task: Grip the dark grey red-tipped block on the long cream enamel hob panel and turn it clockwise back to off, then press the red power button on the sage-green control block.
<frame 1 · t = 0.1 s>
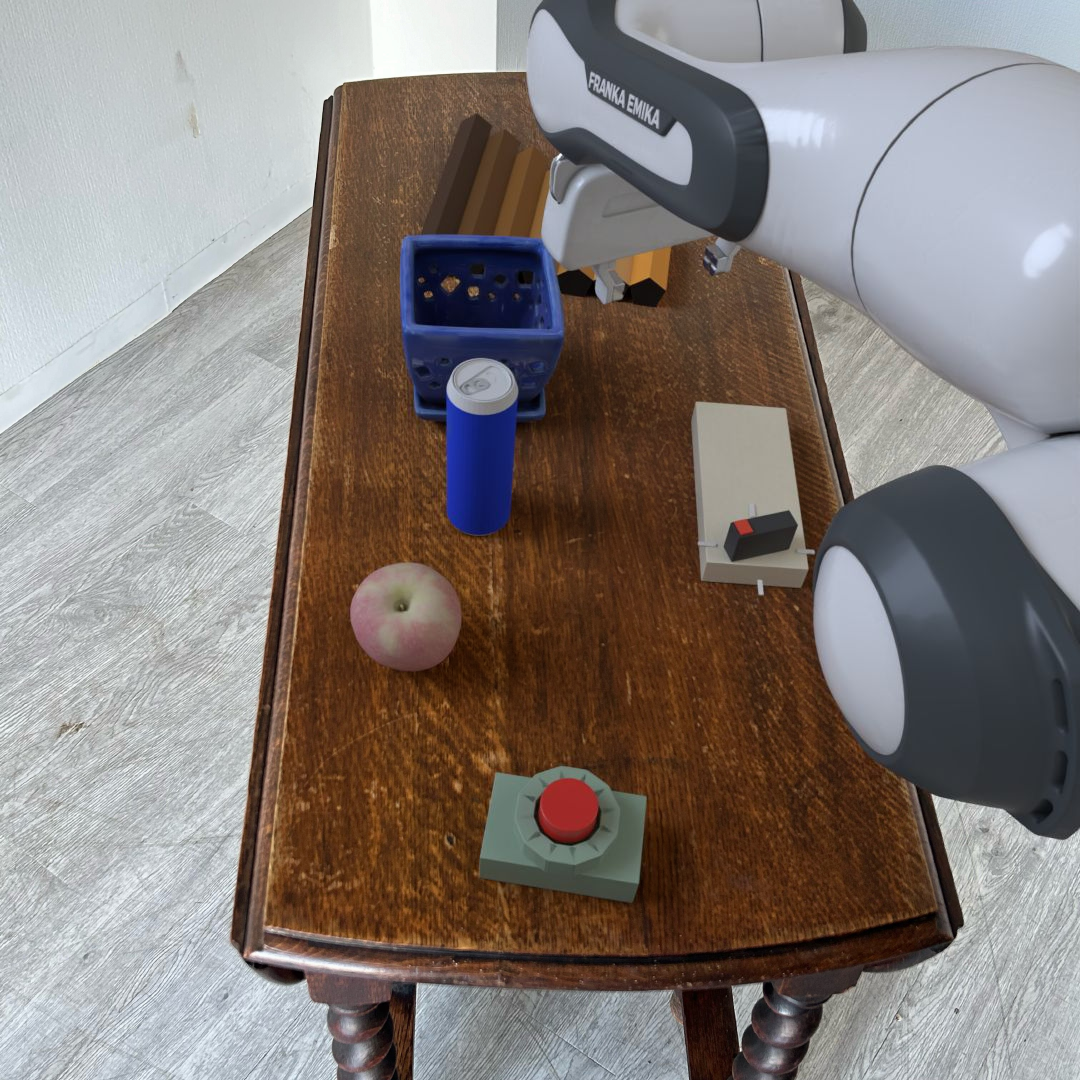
hand: (662, 283, 85), 17 cm above the table, tool pointing down, fingers open, 8 cm apart
beverage can: (478, 517, 91), on the table
control block: (561, 847, 73), on the table
power button: (568, 810, 69), point 5 cm above the table, slide at 0.1 cm
apple: (408, 651, 82), on the table
hob: (742, 499, 94), on the table
flower pot: (477, 389, 101), on the table
dark grey red-tipped block: (760, 535, 86), point 4 cm above the table, hinge at 110.0°
pan flute: (554, 218, 118), on the table
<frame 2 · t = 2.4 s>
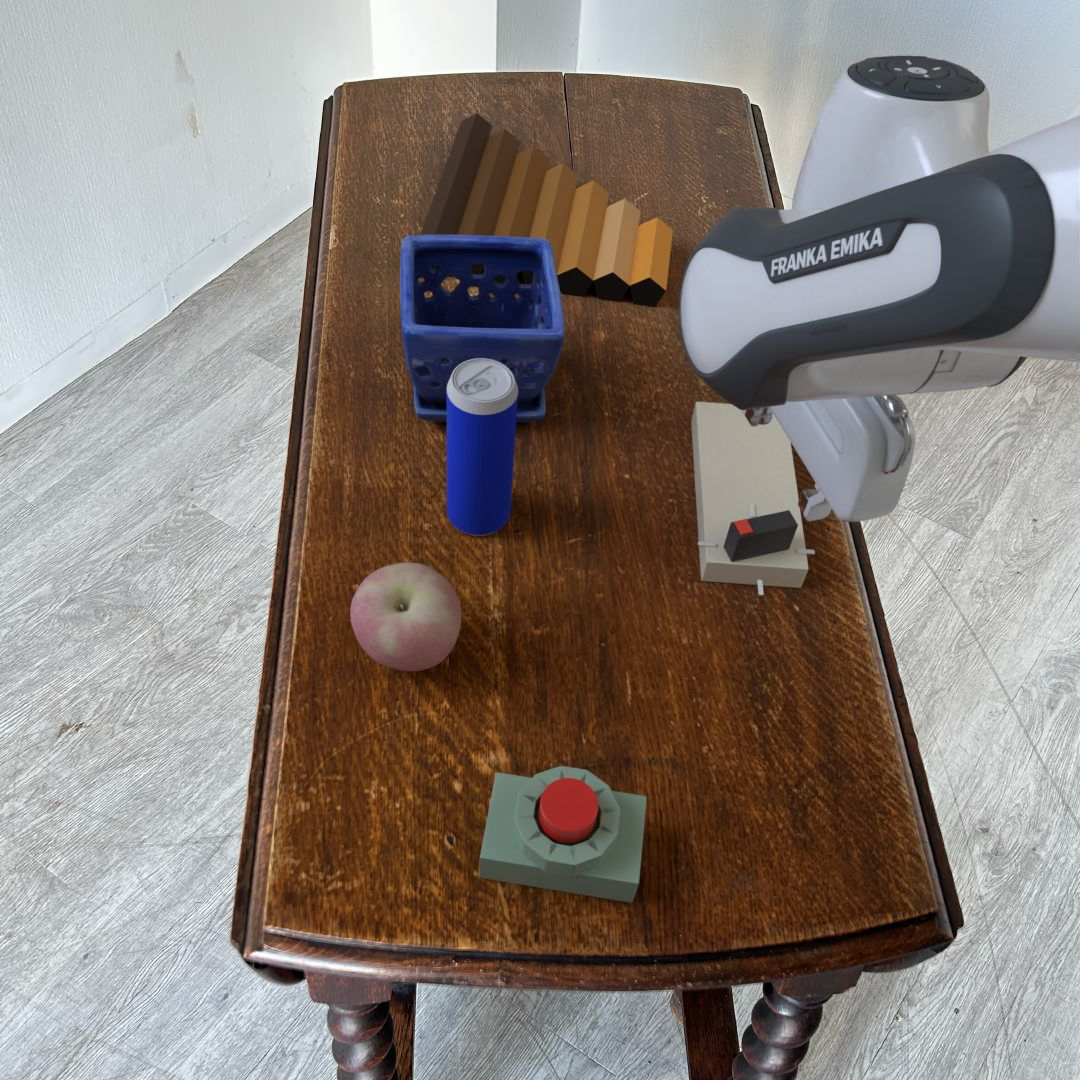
hand: (782, 464, 80), 12 cm above the table, tool pointing down, fingers open, 8 cm apart
nothing on the table moved.
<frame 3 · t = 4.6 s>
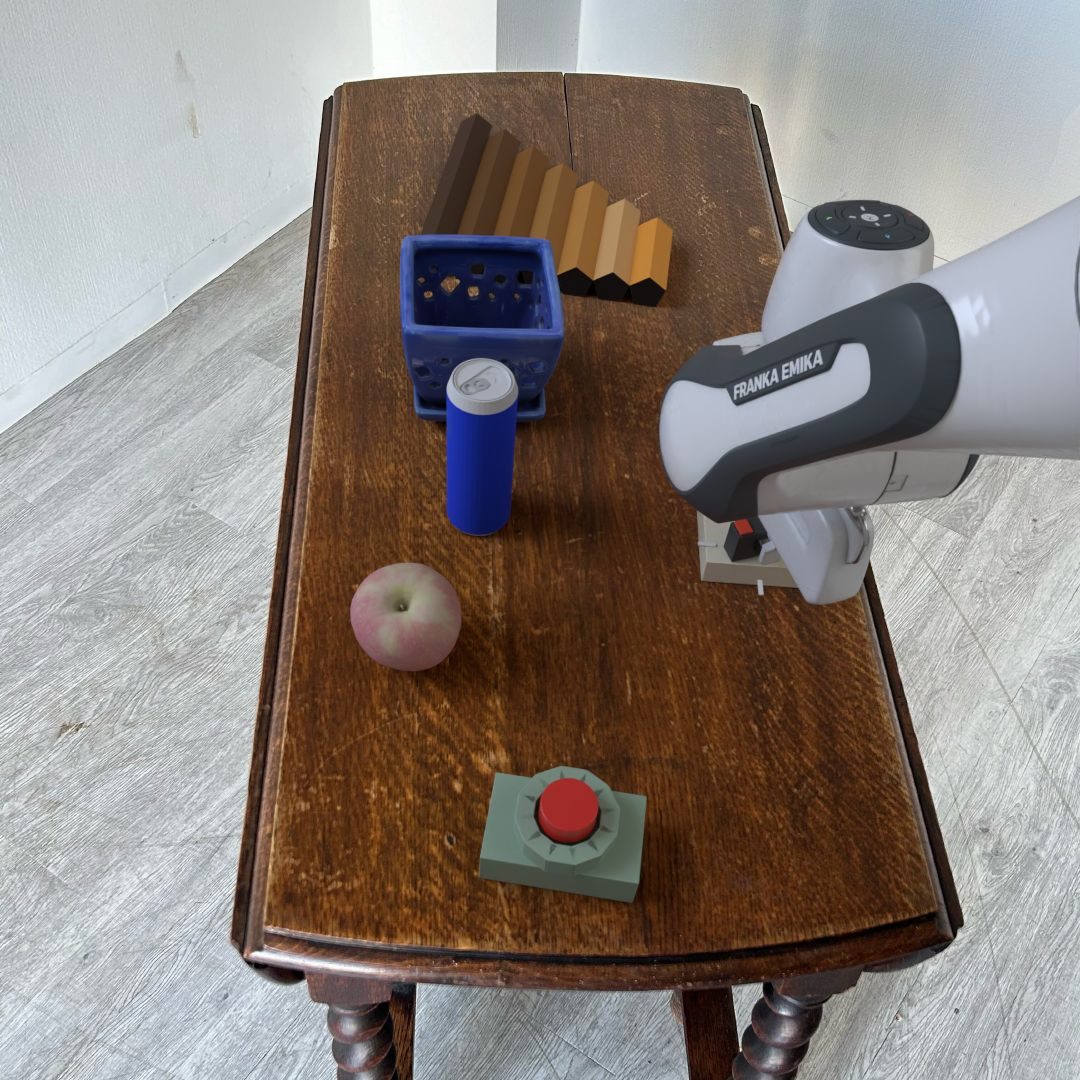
hand: (758, 542, 87), 3 cm above the table, tool pointing down, fingers closed on dark grey red-tipped block, 2 cm apart
dark grey red-tipped block: (760, 535, 86), point 4 cm above the table, hinge at 110.0°, touching gripper
everything else where it was.
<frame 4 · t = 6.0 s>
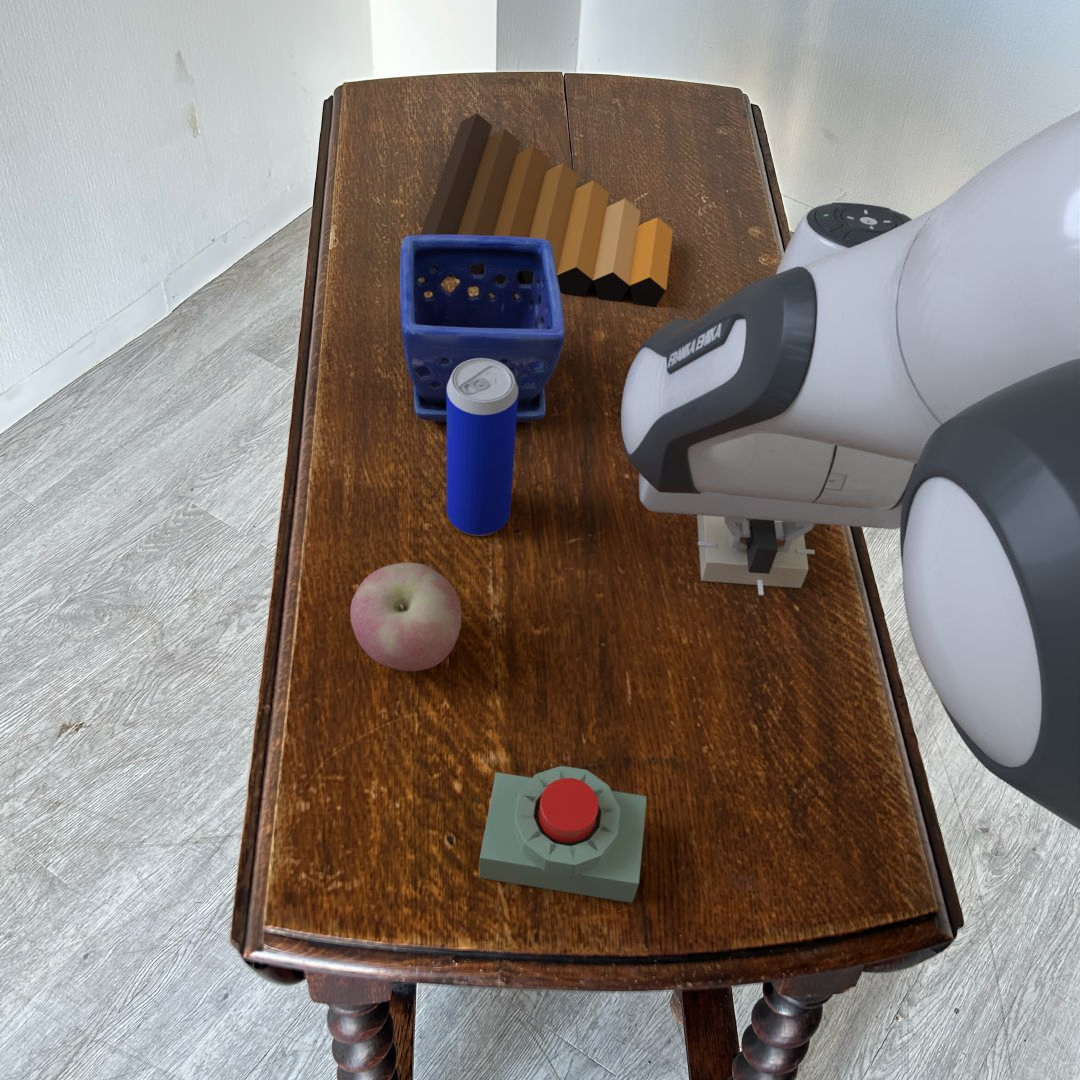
hand: (757, 544, 87), 3 cm above the table, tool pointing down, fingers closed, pressing on dark grey red-tipped block
dark grey red-tipped block: (760, 535, 86), point 4 cm above the table, hinge at 0.1°, touching gripper
everything else where it was.
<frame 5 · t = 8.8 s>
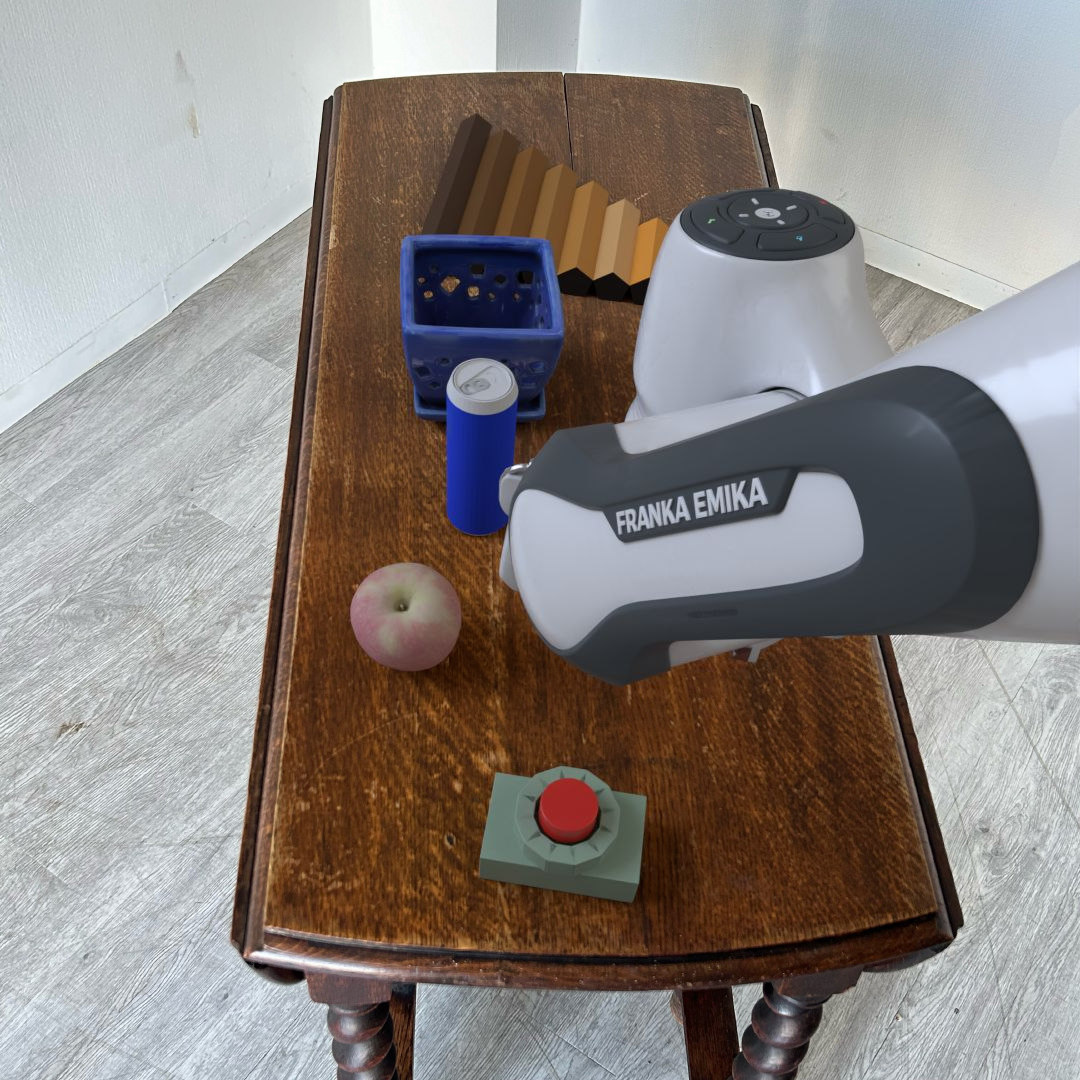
hand: (664, 640, 67), 14 cm above the table, tool pointing down, fingers open, 8 cm apart
dark grey red-tipped block: (760, 535, 86), point 4 cm above the table, hinge at 0.1°
everything else where it was.
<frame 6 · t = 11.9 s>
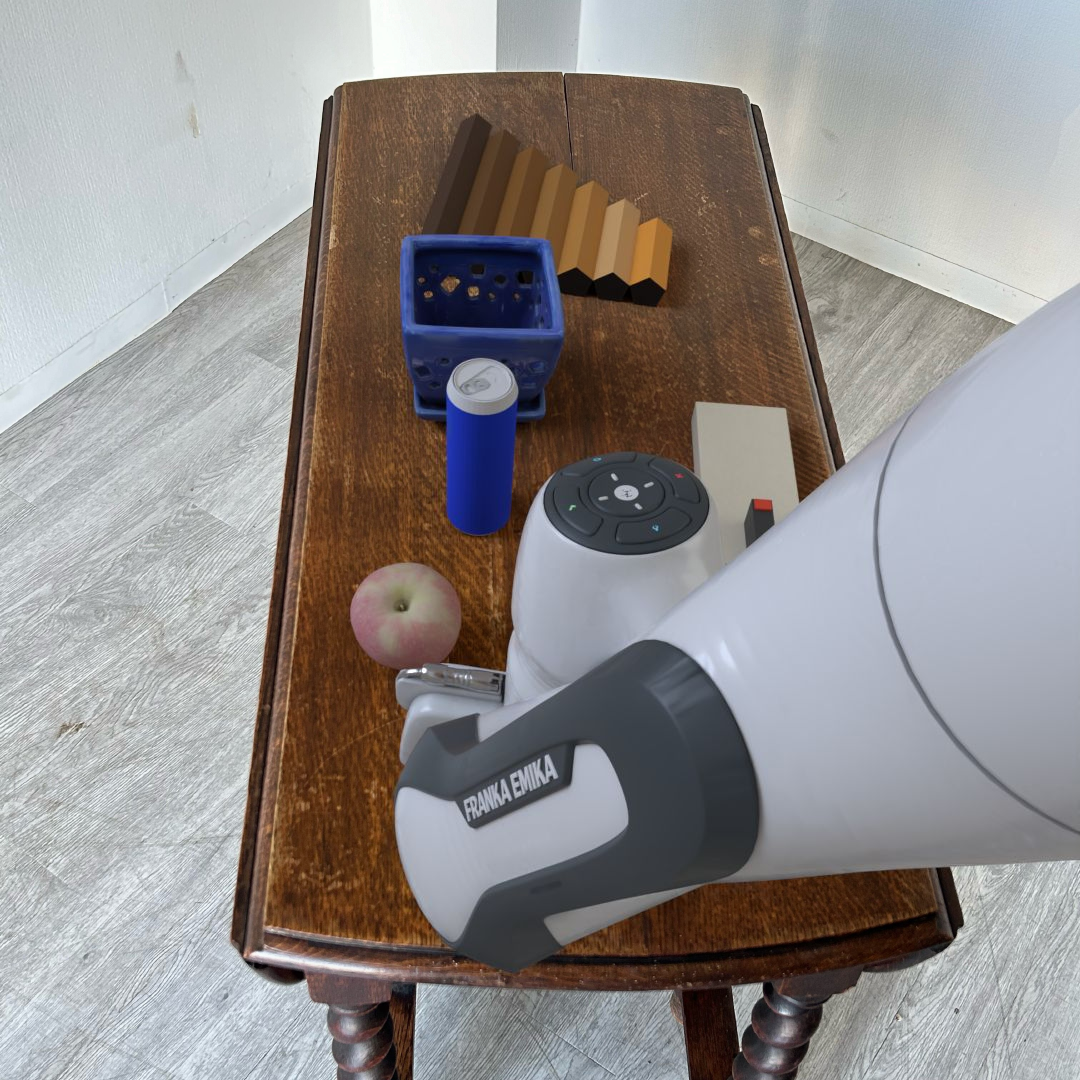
hand: (566, 808, 69), 6 cm above the table, tool pointing down, fingers closed, pressing on power button
power button: (567, 815, 70), point 5 cm above the table, slide at -0.7 cm, touching gripper
everything else where it was.
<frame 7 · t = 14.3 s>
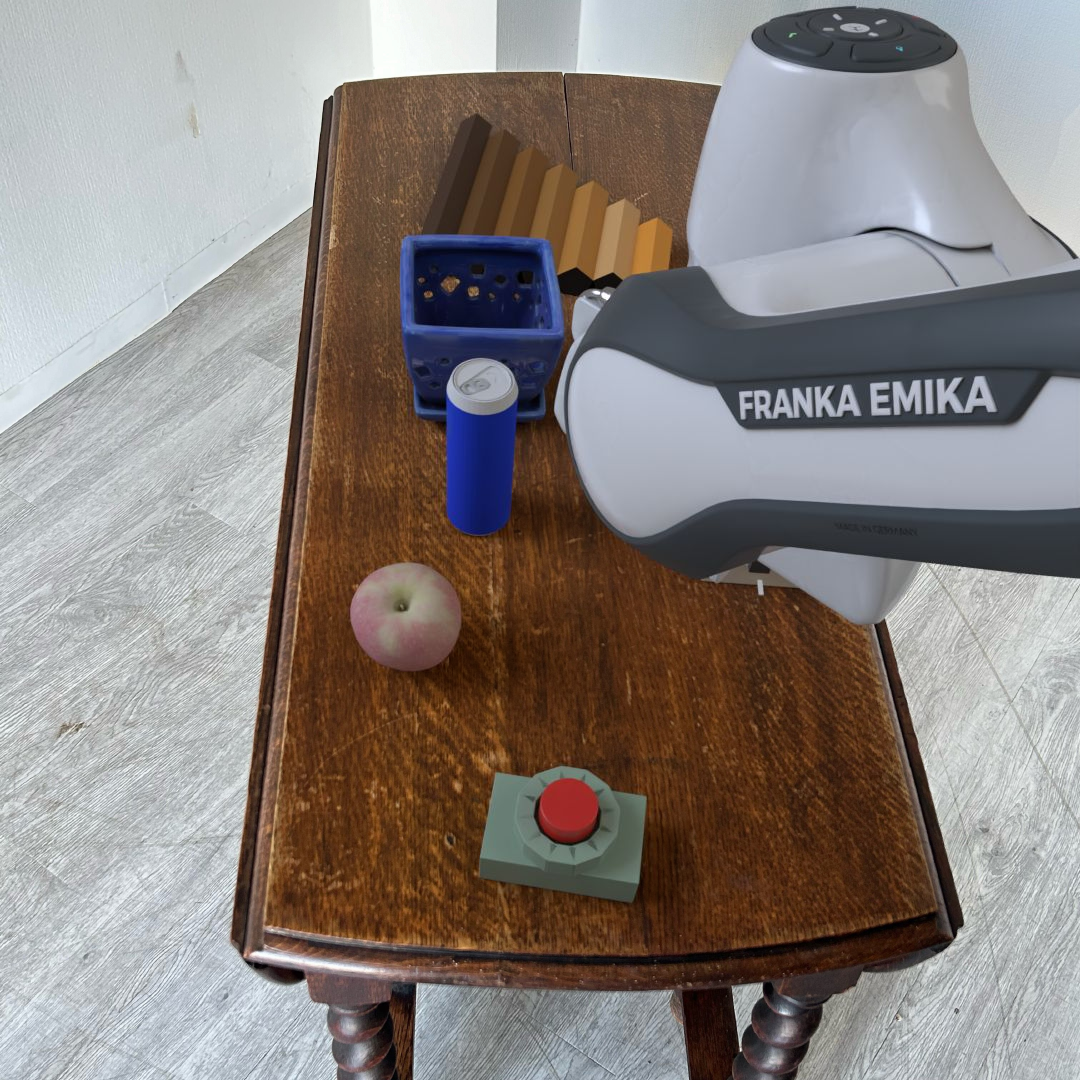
hand: (702, 563, 61), 22 cm above the table, tool pointing down, fingers closed
power button: (568, 810, 69), point 5 cm above the table, slide at 0.1 cm
everything else where it was.
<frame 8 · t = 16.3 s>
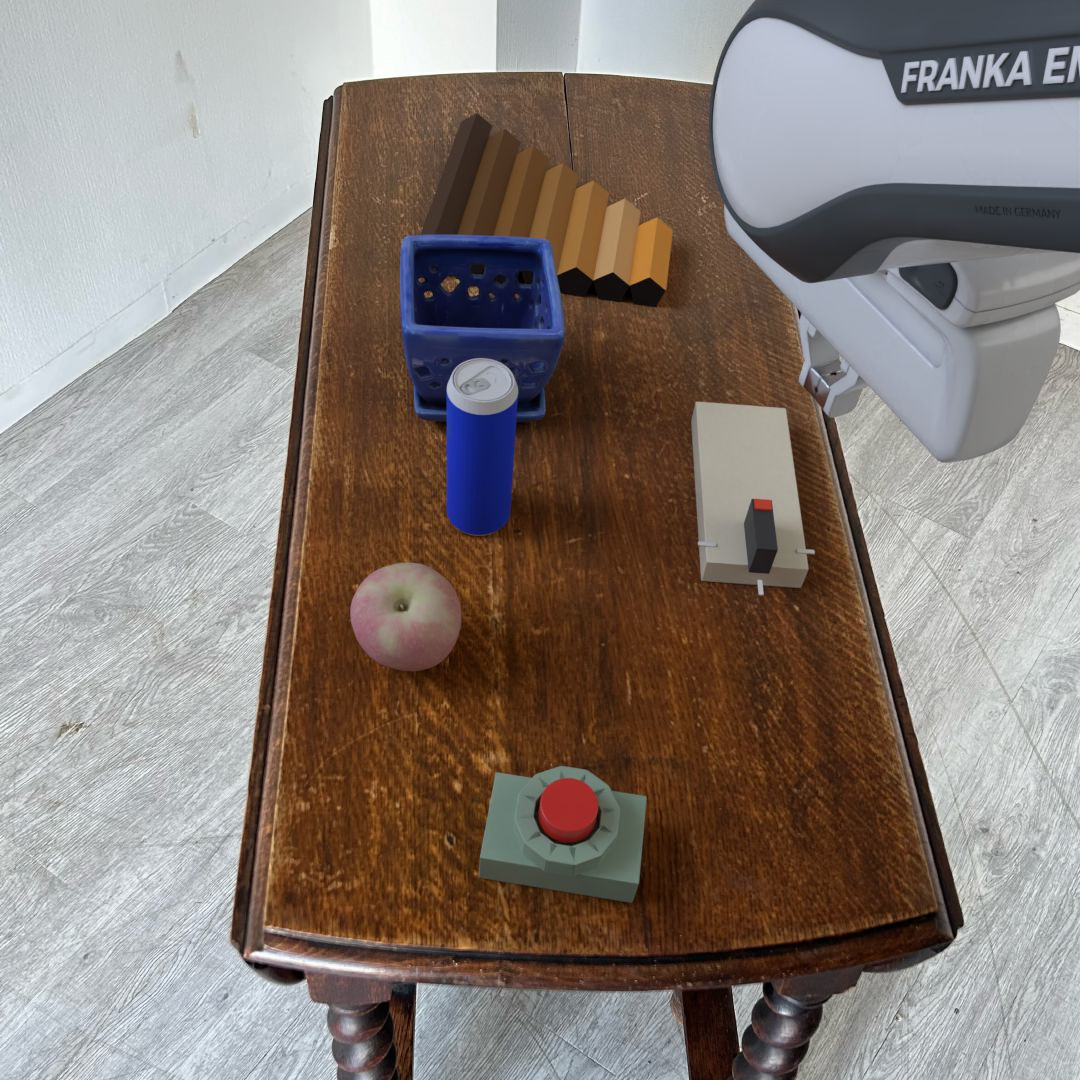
hand: (825, 398, 60), 29 cm above the table, tool pointing down, fingers closed
nothing on the table moved.
at the end: dark grey red-tipped block at +0° (first picture: +110°); power button pushed in 1.0 cm at the most during the clip, back to where it started at the end; power button slide at 0.1 cm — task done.
